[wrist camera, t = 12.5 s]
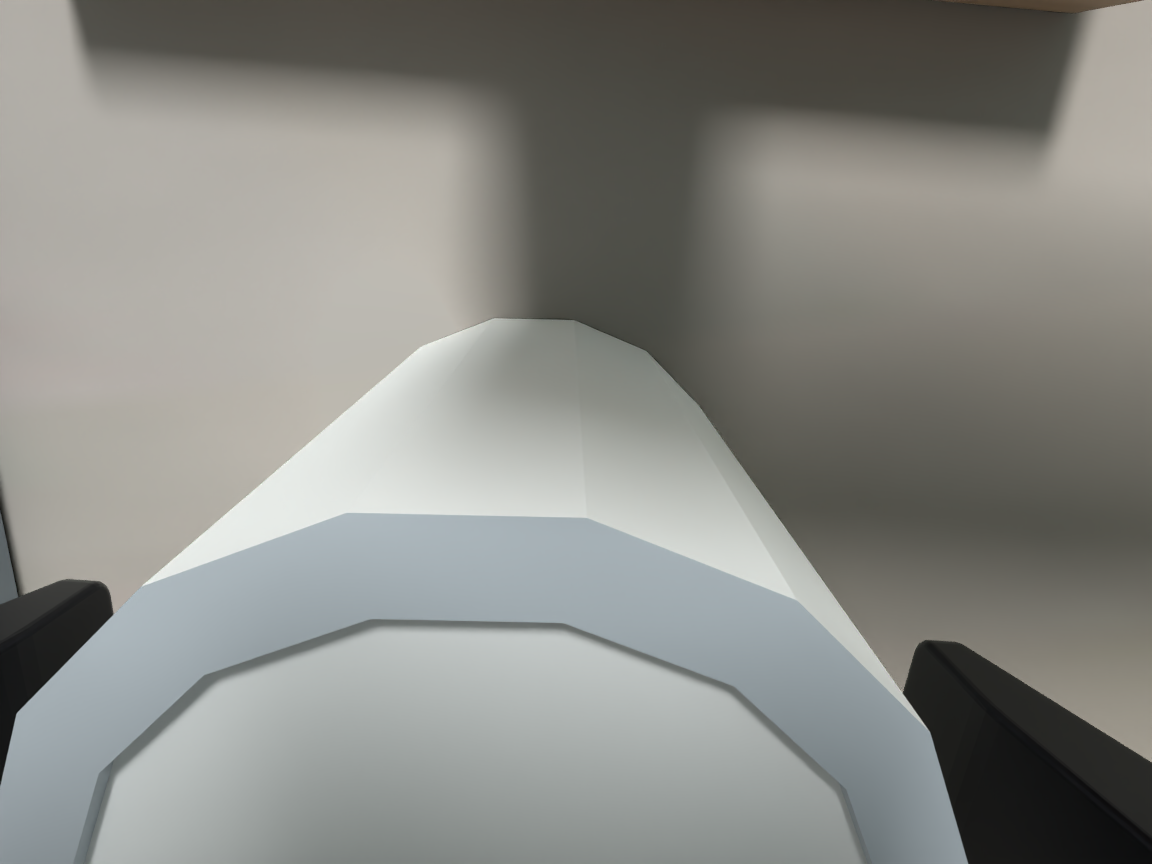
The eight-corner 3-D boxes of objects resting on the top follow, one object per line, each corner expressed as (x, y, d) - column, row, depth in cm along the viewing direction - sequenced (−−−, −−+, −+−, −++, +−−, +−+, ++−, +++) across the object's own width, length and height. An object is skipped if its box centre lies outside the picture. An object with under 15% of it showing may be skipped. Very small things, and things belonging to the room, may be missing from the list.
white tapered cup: (478, 747, 14) (388, 1307, 7) (206, 434, 12) (-254, 838, 5) (842, 561, 13) (1122, 1053, 6) (608, 167, 10) (653, 273, 4)
